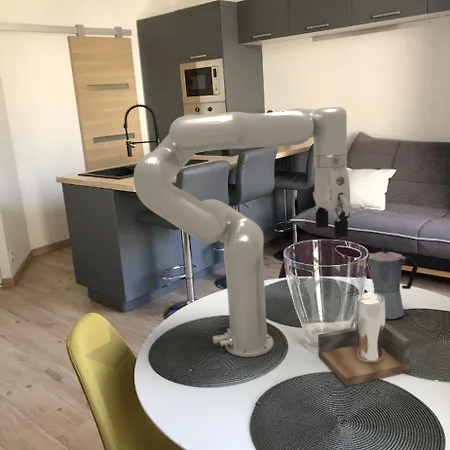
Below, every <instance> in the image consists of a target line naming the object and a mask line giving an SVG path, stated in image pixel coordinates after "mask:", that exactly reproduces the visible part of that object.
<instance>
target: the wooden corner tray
mask: <svg viewBox="0 0 450 450" xmlns="http://www.w3.org/2000/svg"><path fill="white" fill-rule="evenodd" d="M317 342H318V343H317V345H318V346H317V348H318V349H317V350H318V353H317V355H318V357H319V359H320V360H321V361H322V362H323V363H324V364H325V365H326V366H327V367H328V368H329V370H330V371H331V372H332V373H333V374H334V375H335V376H336V377H337V378H338V379H339V381H341V382H342V384H344V385H345V387H349V386H353V385H358V384H361V383H362V384H363V383H366V382H367V383H368V382H371V381H375V380H379V379H384V378H388V377H392V376H396V375H400V374H405V373H410V358H411V353H410V352H411V339H410V338H408V337H406V336H405V335H404V334H403V333H401V332H399V330H397V329H395V328H394V327H392V325H390V324H388V323H387V322H386V321H385V326H384V331H383V335H382V341H381V349H382V354H383V359H382V360H381V361H380V362H378V363H365V362H362V361H360V360H358V359H357V357H356V352H357V348H358V338H357V333H356V327H355V326H353V327H349V328H345V329H339V330H335V331H334V330H333V331H330V332H329V331H328V332H324V333H320V334H319V333H318V334H317Z"/></svg>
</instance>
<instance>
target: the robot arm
mask: <svg viewBox="0 0 450 450" xmlns="http://www.w3.org/2000/svg"><path fill="white" fill-rule="evenodd" d="M347 122H348V120H347V110H346V109H345V108H344V107H341V106H330V107H321V108H317V109H315V108H313V109H310V108H309V109H308V108H291V109H289V110H285V111H278V112H277V111H275V112H263V113H261V112H259V113H250V112H249V113H248V112H244V111H243V112H242V111H229V112H219V113H218V112H217V113H206V114H186V115H183V116H179V117H178V118H176V119H175V120H174V121H173V122H172V123H171V125H170V126H169V127H170V128H169V129H168V130H169V132H168V135H166V136H165V138H164V139H163V140H162V141H161V142H160V143H159V145H157V147H156V148H155V149H154V150H152V151H151V152H148V153H147V154H145V155H143V156H142V157H141V158H140V159H139V160H138V161H137V164H136V165H135V167H134V170H133V171H134V172H133V186H134V189H135V193H136V195H137V197H138V199H139V200H140V202H141V203H142V204H143V205H144V206H145V207H147V208H148V209H149V210H150V211H152V212H153V213H155V214H156V215H158V216H159V217H161V218H163V219H164V220H166V221H167V222H168V223H169V222H170V224H172V225H174V226H175V227H176V228H178V229H180V230H181V231H182V232H184V233H185V234H187V235H189V236H190V237H192V238H194V239H195V240H197V241H199V242H200V243H203V244H208V245H210V244H214V243H216V242H218V241H219V242H221V243H223V244H224V247H223V260H224V261H223V262H224V269H225V276H226V289H227V301H228V316H229V317H228V319H229V328H226V330H227V331H226V332H224V333H223V334H220V335H219V334H218V335H213V336H212V342H213V344H220V346H221V347H224V346H225V349H226V350H227V352H229V354H230V353H231V354H232V355H234V356H237V357H245V358H252V357H259V356H261V355H265V354H267V353H268V352H270V351H271V350H272V349H273V347H274V339H273V337H272V336H271V335H269V334H268V329H267V328H268V326H267V310H266V308H267V307H266V305H267V304H266V291H265V290H266V288H265V272H264V268H265V267H264V239H265V238H264V237H265V236H264V232H263V230H262V228H261V227H260V225H258V223H256V221H254V220H252V219H250V218H249V217H248V216H245V215H244V214H243V213H241V212H240V211H237V210H236V209H234V207H232V206H229V205H228V204H226V203H225V202H224V201H220V200H218V199H215V198H214V199H213V198H209V199H204V200H202V201H201V200H200V199H198V198H196V197H195V196H193V195H192V194H190V193H189V192H187V191H185V190H184V189H182V188H179V187H177V186H175V185H174V184H173V183H172V181H171V180H172V179H174V178H175V177H176V176H177V175H178V173H179V172H180V171H181V170H182V169H183V168H184V167H186V166H185V165H187V164H188V162H189V161H190V160H191V159H192V158H193V157H194V156H195V155H196V154H197V152H206V151H217V150H218V151H219V150H220V151H221V150H234V149H252V148H255V149H256V148H276V147H277V148H278V147H287V146H290V147H291V146H298V145H302V144H304V143H306V142H308V141H309V140H311V139H313V164H314V165H313V168H314V169H315V170H314V191H313V192H312V196H313V204H314V211H315V228H316V229H321V228H328V227H329V212H331V213H333V216H334V218H335V220H334V222H333V224H334V225H333V226H334V230H333V231H334V233H333V234H334V236H333V237H334V238H336V239H338V238H339V239H340V238H346V237H348V236H349V222H348V221H349V220H350V216H351V210H352V204H351V187H350V186H351V185H350V176H349V172H348V159H347V158H348V150H347V149H348V147H347V145H348V142H347V141H348V140H347V139H348V134H347V133H348V131H347V130H348V129H347V128H348V127H347V124H348V123H347Z"/></svg>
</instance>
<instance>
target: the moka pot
mask: <svg viewBox="0 0 450 450" xmlns="http://www.w3.org/2000/svg"><path fill="white" fill-rule="evenodd" d="M388 249H389V246H383V247H382V251H379V252H373V253H372V252H371V253H368V254H369V257H368V262H367V265H368V267H369V268H370V275H371V280H372V284H373V285H372V286H373V293H376V294H379V295H382V296H383V297H384V298H385V320H396V319H400V318H402V317H403V316H404V315H405V312H404V307H403V299H402V293H401V288H402V289H404V290H410V289H411V288H412V285H413V282H414V279H415V276H416V274H417V271H418V264H417V263H416V262H415V261H414V259H413V258H412V256H403V255H402V254H401V253H397V252H393V251H389V250H388ZM407 264H408V265H409V264H410V265H411V266H412V268H411V271H410V272H411V273H409V274H410V275H409V278H408V282H407V284H406V285H403V284H402V285H401V279H402V277H401V276H402V269H403V268H402V267H403V265H407Z"/></svg>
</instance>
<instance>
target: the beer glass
mask: <svg viewBox="0 0 450 450" xmlns="http://www.w3.org/2000/svg"><path fill="white" fill-rule="evenodd" d="M353 308H354V311H353V316H354V321H353V322H354V327H356V333H357V338H358V348H357V352H356V357H357V359H358V360H360V361H362V362H365V363H378V362H380V361H381V360H382V359H383V354H382V349H381V341H382V335H383V331H384V326H385V322H386V319H385V298H384V297H383V296H382V295H379V294H376V293H374V292H361V293H359V294H357V295H355V297H354V307H353Z"/></svg>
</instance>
